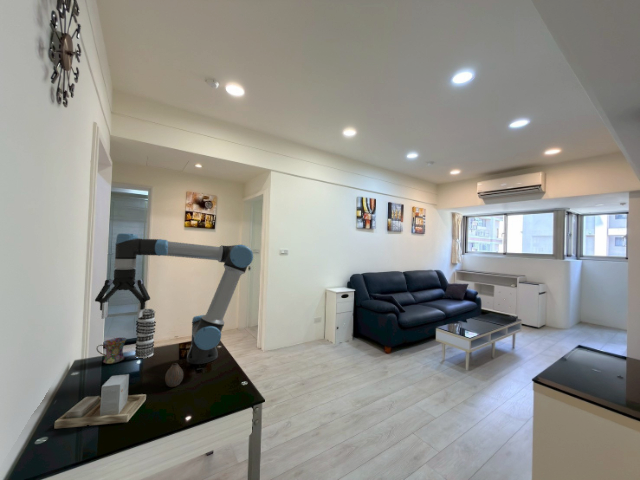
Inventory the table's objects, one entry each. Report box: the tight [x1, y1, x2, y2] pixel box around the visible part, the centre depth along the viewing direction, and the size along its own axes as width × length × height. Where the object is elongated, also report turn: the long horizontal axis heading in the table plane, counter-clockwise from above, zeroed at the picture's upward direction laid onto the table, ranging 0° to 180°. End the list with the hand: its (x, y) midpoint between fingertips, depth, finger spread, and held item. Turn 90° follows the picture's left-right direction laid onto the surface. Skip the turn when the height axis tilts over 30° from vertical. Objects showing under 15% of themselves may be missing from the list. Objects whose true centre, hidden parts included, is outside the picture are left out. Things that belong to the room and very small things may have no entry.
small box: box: [100, 373, 130, 416], centre depth 92 cm, size 8×6×10 cm
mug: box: [96, 337, 127, 365], centre depth 132 cm, size 12×9×11 cm
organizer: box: [54, 393, 147, 429], centre depth 91 cm, size 21×13×4 cm, turn 101°
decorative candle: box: [134, 308, 157, 359], centre depth 140 cm, size 9×9×25 cm
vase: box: [164, 362, 184, 388], centre depth 111 cm, size 7×7×9 cm
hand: (122, 317), depth 110 cm, fingers open, 13 cm apart
